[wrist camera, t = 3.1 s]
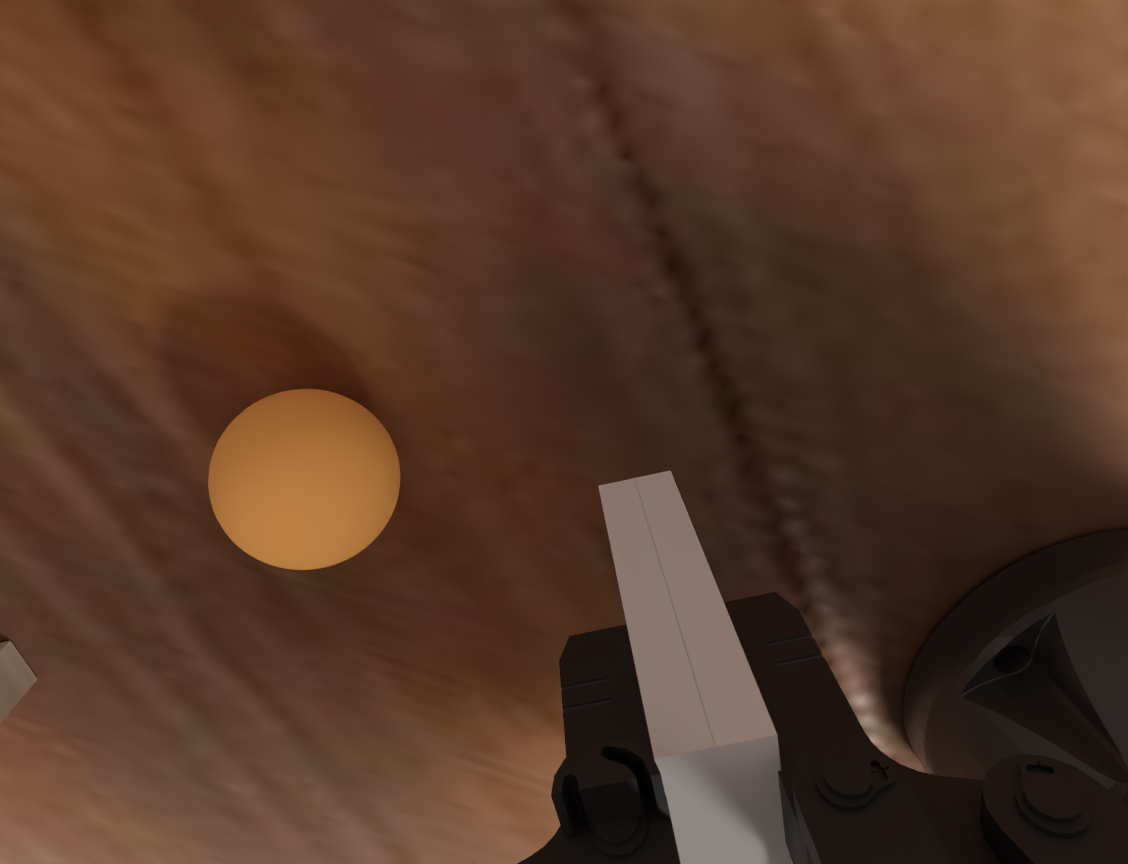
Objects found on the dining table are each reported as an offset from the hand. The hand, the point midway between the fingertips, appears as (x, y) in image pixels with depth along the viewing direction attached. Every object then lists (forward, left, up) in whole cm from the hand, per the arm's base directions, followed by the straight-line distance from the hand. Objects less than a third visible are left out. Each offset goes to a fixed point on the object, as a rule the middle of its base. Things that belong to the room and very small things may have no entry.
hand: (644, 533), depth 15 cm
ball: (+9, 0, -7) cm, 12 cm away
